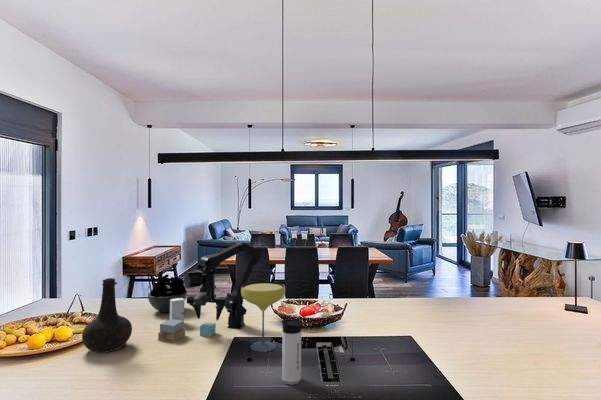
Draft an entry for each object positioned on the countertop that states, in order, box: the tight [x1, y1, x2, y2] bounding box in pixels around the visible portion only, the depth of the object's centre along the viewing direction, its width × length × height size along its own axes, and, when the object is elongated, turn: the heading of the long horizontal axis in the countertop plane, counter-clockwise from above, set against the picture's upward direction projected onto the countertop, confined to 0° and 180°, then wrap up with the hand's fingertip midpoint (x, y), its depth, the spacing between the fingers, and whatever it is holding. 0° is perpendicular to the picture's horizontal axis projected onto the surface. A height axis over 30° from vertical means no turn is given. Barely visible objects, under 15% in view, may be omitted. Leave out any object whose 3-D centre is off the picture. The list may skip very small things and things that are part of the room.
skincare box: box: [169, 298, 185, 322], centre depth 177 cm, size 6×4×12 cm
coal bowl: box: [147, 273, 188, 313], centre depth 198 cm, size 20×20×19 cm
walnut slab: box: [157, 327, 186, 343], centre depth 160 cm, size 8×8×4 cm
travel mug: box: [281, 319, 302, 386], centre depth 122 cm, size 6×7×20 cm
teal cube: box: [199, 321, 217, 338], centre depth 164 cm, size 5×5×4 cm
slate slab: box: [159, 318, 185, 334], centre depth 160 cm, size 7×7×4 cm
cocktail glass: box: [241, 281, 286, 353], centre depth 150 cm, size 18×18×25 cm
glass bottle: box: [81, 277, 133, 353], centre depth 148 cm, size 18×18×28 cm
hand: (208, 319), depth 164 cm, fingers open, 9 cm apart
